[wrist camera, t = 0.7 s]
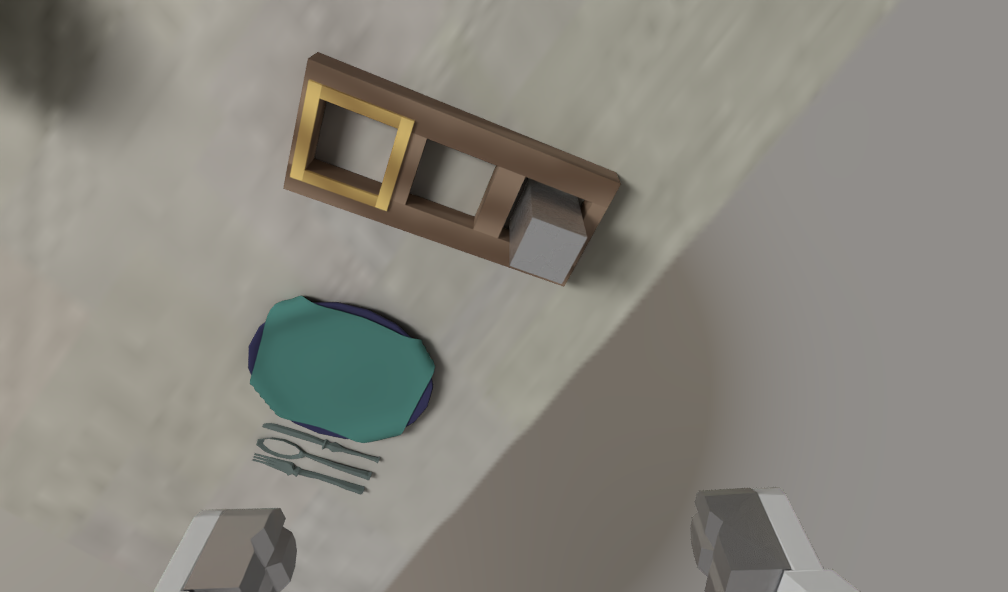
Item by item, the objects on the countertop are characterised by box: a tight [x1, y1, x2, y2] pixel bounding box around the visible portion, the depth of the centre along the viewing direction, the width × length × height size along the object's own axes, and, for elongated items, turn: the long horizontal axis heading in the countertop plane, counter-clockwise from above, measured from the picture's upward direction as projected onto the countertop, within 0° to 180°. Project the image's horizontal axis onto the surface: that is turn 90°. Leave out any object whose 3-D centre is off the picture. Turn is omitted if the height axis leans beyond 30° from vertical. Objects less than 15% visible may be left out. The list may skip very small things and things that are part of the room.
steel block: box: [509, 178, 587, 284], centre depth 47 cm, size 5×5×8 cm
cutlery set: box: [248, 296, 435, 494], centre depth 63 cm, size 20×30×2 cm, turn 155°
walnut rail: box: [283, 52, 621, 286], centre depth 47 cm, size 11×26×3 cm, turn 68°
